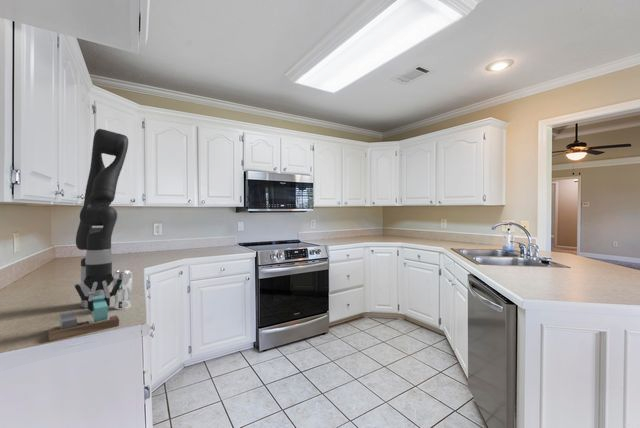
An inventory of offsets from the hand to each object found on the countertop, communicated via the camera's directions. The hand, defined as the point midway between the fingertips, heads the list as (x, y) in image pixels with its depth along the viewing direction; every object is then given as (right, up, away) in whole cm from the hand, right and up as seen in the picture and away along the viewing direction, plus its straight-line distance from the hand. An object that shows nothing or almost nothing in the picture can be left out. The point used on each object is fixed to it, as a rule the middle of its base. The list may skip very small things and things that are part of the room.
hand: (98, 309), depth 102 cm
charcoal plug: (-6, -5, -6) cm, 10 cm away
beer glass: (-4, -5, +18) cm, 19 cm away
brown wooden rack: (0, -5, -6) cm, 8 cm away
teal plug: (0, -2, 0) cm, 2 cm away
